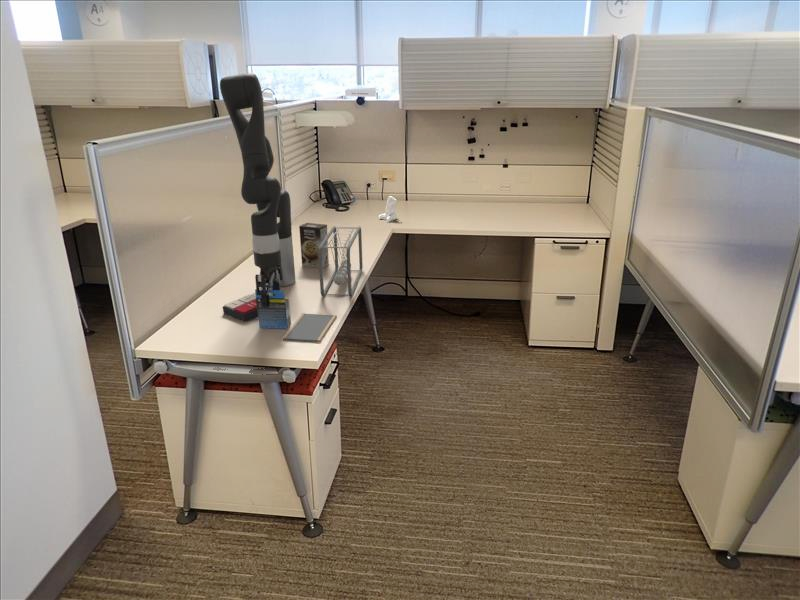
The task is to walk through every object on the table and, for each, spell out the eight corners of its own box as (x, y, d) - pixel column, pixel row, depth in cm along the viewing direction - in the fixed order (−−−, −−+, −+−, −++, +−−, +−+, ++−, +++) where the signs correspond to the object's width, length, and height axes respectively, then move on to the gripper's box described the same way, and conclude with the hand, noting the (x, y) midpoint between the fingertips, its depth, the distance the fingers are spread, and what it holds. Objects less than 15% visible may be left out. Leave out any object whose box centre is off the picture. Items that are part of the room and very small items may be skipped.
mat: (302, 315, 179) (302, 313, 179) (336, 317, 178) (336, 315, 178) (282, 340, 163) (282, 337, 163) (319, 342, 161) (319, 340, 161)
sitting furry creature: (377, 218, 295) (376, 195, 291) (391, 216, 300) (390, 193, 296) (388, 222, 288) (387, 198, 284) (401, 219, 293) (401, 196, 288)
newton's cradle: (335, 269, 220) (333, 224, 214) (362, 270, 220) (361, 224, 213) (320, 298, 193) (317, 247, 186) (351, 299, 192) (349, 248, 185)
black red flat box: (221, 304, 180) (259, 288, 190) (223, 316, 182) (261, 300, 192) (243, 312, 173) (281, 295, 184) (245, 325, 175) (283, 307, 186)
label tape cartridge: (291, 324, 173) (288, 285, 169) (287, 329, 170) (284, 290, 165) (263, 322, 174) (259, 284, 170) (258, 328, 171) (254, 289, 166)
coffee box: (301, 266, 225) (298, 226, 219) (309, 261, 230) (306, 222, 224) (322, 268, 222) (319, 227, 216) (329, 263, 227) (327, 223, 221)
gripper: (263, 241, 170) (268, 292, 176) (243, 255, 157) (249, 310, 163) (287, 242, 169) (292, 294, 175) (269, 256, 156) (274, 311, 162)
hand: (271, 301), depth 169 cm, fingers open, 8 cm apart
